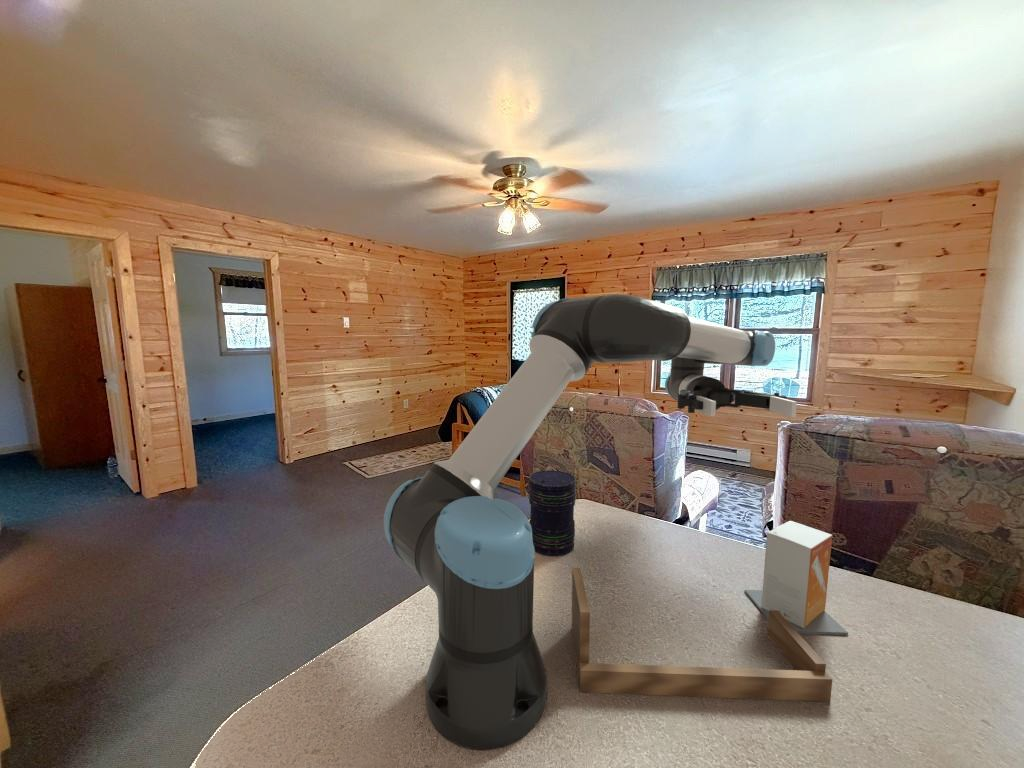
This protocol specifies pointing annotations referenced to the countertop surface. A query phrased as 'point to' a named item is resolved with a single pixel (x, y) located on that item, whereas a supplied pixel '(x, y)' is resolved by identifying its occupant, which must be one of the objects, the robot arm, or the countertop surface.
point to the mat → (817, 626)
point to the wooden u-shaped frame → (702, 681)
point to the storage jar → (552, 512)
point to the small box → (796, 572)
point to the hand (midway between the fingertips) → (753, 409)
